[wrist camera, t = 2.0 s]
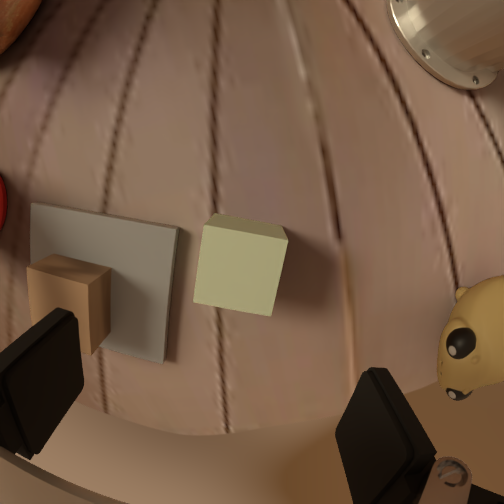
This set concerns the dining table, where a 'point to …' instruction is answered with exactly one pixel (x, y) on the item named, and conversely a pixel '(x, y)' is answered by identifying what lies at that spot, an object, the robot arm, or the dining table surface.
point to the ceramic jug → (15, 19)
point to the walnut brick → (73, 295)
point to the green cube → (240, 264)
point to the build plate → (117, 269)
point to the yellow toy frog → (473, 340)
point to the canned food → (2, 202)
